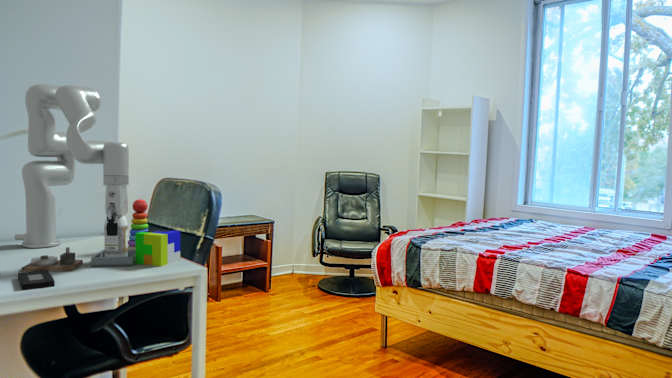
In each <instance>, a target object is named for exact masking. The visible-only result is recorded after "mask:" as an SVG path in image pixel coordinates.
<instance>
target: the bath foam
mask: <svg viewBox="0 0 672 378" xmlns="http://www.w3.org/2000/svg"><path fill="white" fill-rule="evenodd" d="M114 209H115V207H114ZM114 218H115V217H114ZM116 223H118V235H117V236H107V217H106V218H105V221H104V228H103V229H104V250H105V257H128V246H129V245H128V241H129V240H128V239H129V235H128V232H129V230H128V229H129V228H128V220H127V217H126V215H125V216H124V215H123V216H119V215H118V217H117V222H116Z"/></svg>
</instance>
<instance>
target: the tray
mask: <svg viewBox="0 0 672 378" xmlns="http://www.w3.org/2000/svg"><path fill="white" fill-rule="evenodd" d="M90 261H91V262H90V264H91V267H94V268H96V267H97V268H98V267H99V268H100V267H104V268H105V267H134V265H135V264H136V263H135V250H128V257H105V249H102V250H100V251H99V252H98V253H96V254H95V255H93V256H92V257H91V259H90Z"/></svg>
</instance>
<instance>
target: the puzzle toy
mask: <svg viewBox="0 0 672 378" xmlns="http://www.w3.org/2000/svg"><path fill="white" fill-rule="evenodd" d="M180 261H181V231H180V230H172V229H171V230H170V229H161V228H154V229H148V231H144V232H139V233H135V264H137V265H138V264H139V265H147V266H154V267H164V266H167V265H170V264H172V263H176V262H180Z"/></svg>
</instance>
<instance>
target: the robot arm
mask: <svg viewBox="0 0 672 378" xmlns="http://www.w3.org/2000/svg"><path fill="white" fill-rule="evenodd" d="M24 98H25V99H24V101H25V102H24V103H25V107H26V108H25V109H26V112H27V118H28V125H27V127H28V128H27V129H28V130H27V149H28V152H29V154H30V155H31V156H33V157H37V158H56V159H57V160H32V161H29V162H26V163H25V164H24V165H23V166H22V169H21V177H22V181H23V185H24V193H25V196H24V197H25V223H26V225H25V227H26V228H25V230H26V232H25V233H23V234H21V233H20V234H17V233H16V234H15V235H14V239H15V240H16V241H23V242H21V247H23V248H27V249H28V248H29V249H39V248H41V249H42V248H50V247H55V246H60V245H61V240H60V239H57V238H56V237H57V232H56V228H57V227H56V221H57V220H56V198H55V194H54V193H53V191H52V190H51V189H50V187H55V186H68V185H70V184H71V183H72V182H73V180H74V178H75V172H76V171H75V170H76V162H79V164H82V165H103V166H102V167H103V169H102V170H103V171H102V172H103V176H102V177H103V178H102V180H103V185H102V186H106V187H105V206H104V207H105V216H106V218H107V236H117V235H118V223H116V222H117V217H118V215H119V216H123V215H124V216H125V217H126V215H127V214H128V212H129V204H128V203H129V199H128V186H129V185H130V184H129V177H130V176H129V173H130V172H129V167H130V165H129V164H130V163H129V160H130V159H129V151H130V150H129V149H130V148H129V146H128V144H127V143H125V142H114V141H106V140H103V141H102V140H85V139H84V138H83V135H82V134H81V133H84V132H86V131H88V130H90V129H91V128H93V127H94V126H95V124H96V122H97V116H96V114H95V113H94V112H96V111H98V110H99V109H100V107H101V103H102V100H101V96H100V94H99V93H98V92H97V90H95V88H92V87H88V86H87V87H86V86H79V85H70V84H69V85H67V84H66V85H60V86H59V85H53V84H44V83H43V84H33V85H31V86H29V87H28V89H27V90H26V93H25V96H24ZM51 110H57V111H62V114H63V116H64V117H65V119H66V121H67V122H68V124H69V126H68V128H67V130H66V132H64V131H56V119H55V117H54V115H53V113H52V111H51ZM114 207H115V209H114ZM114 217H115V218H114Z"/></svg>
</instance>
